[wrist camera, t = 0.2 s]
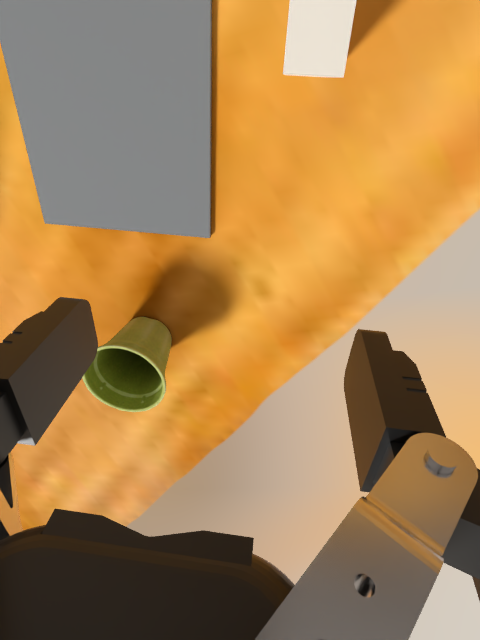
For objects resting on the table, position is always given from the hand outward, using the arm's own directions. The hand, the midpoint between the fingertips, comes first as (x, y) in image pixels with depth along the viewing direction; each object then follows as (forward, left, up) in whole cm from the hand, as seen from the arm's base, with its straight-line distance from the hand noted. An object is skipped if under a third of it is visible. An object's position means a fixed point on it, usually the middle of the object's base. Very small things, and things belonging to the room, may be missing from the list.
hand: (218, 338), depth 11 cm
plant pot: (+22, -13, -28) cm, 38 cm away
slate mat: (-3, -14, -28) cm, 32 cm away
